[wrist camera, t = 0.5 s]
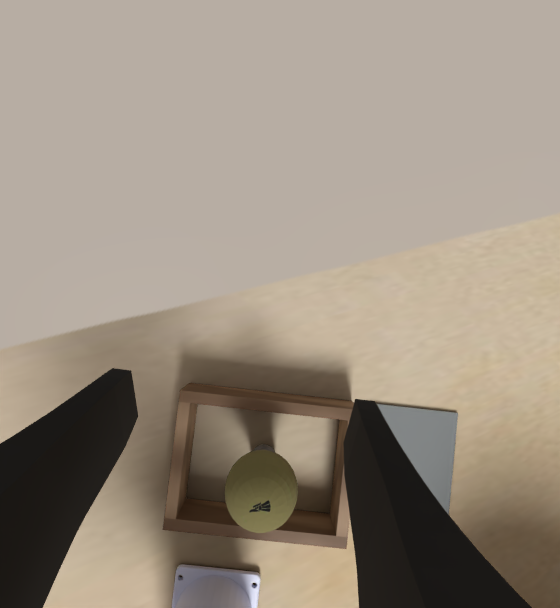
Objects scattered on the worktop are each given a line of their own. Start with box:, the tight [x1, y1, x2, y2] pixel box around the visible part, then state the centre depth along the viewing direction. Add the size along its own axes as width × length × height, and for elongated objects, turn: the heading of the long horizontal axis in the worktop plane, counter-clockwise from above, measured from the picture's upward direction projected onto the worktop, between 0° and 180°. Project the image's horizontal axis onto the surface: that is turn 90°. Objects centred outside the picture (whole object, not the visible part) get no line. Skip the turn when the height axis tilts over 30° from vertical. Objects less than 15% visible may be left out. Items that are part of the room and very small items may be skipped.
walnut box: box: [163, 383, 354, 549], centre depth 32 cm, size 12×16×4 cm
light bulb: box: [225, 444, 298, 533], centre depth 29 cm, size 6×6×10 cm
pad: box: [377, 404, 458, 515], centre depth 34 cm, size 12×9×1 cm
